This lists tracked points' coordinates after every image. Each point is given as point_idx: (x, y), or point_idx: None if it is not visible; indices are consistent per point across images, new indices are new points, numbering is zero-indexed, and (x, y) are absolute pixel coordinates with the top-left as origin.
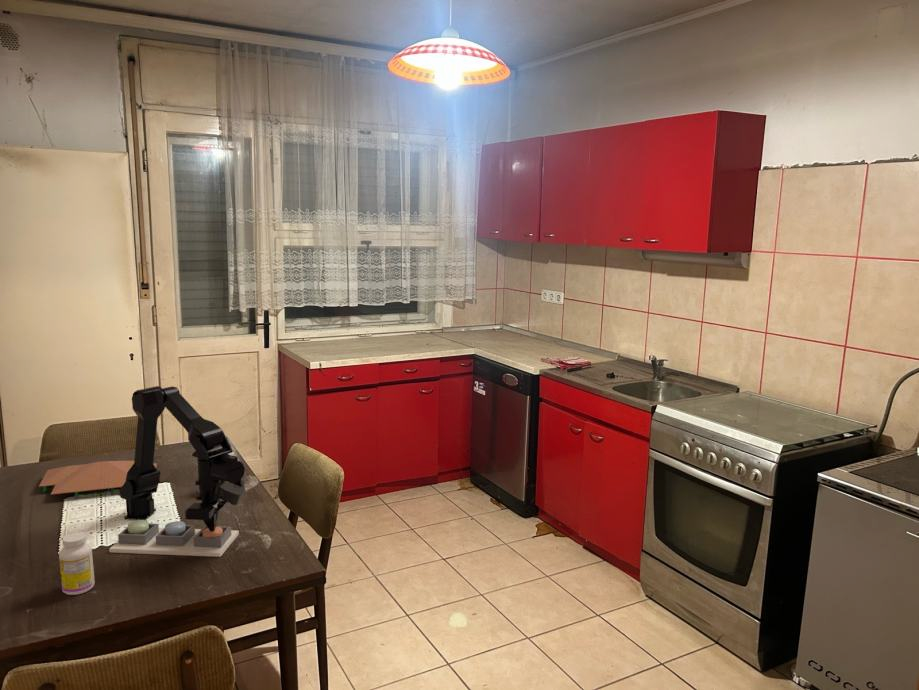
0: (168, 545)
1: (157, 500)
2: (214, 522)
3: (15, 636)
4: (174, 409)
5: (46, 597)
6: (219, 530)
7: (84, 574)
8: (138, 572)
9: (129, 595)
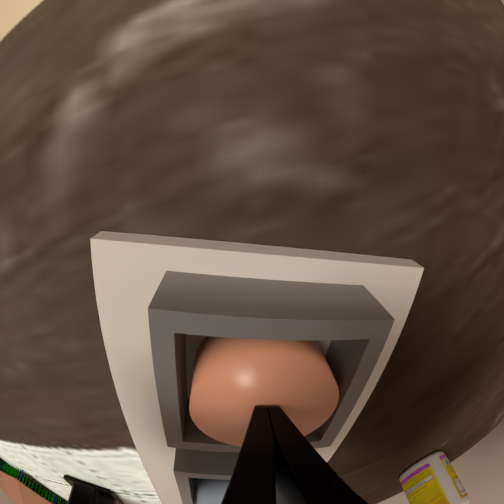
0: None
1: (29, 462)
2: (321, 466)
3: (488, 432)
4: None
5: None
6: (264, 377)
7: (455, 473)
8: (410, 438)
9: (488, 391)
